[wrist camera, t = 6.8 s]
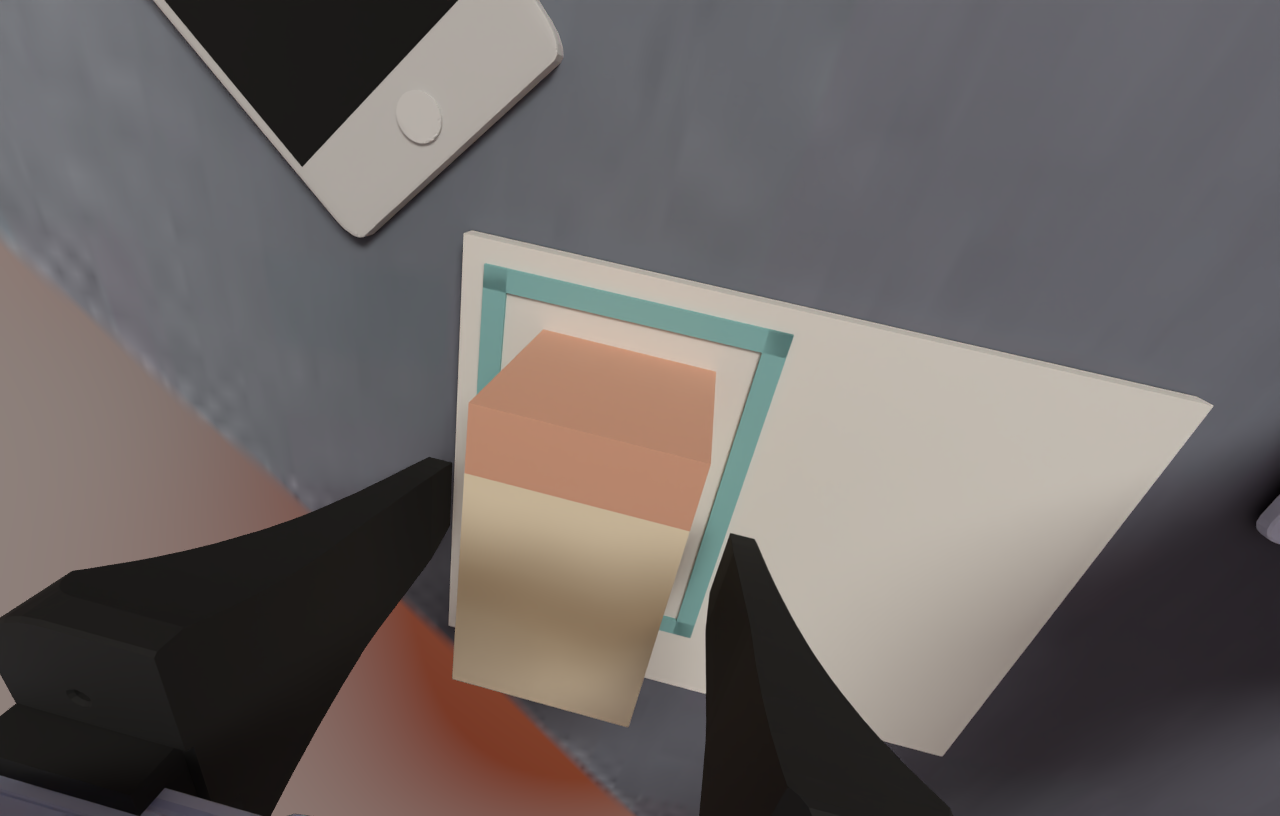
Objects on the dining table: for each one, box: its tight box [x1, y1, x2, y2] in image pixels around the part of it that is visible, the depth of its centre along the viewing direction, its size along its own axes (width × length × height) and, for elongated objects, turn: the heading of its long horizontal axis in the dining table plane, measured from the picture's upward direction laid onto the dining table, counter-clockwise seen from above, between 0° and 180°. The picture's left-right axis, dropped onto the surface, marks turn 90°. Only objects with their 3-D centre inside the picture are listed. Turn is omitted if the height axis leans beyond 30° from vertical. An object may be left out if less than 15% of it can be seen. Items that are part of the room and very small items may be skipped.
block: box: [452, 329, 716, 727], centre depth 14 cm, size 8×5×4 cm, turn 169°
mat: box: [449, 230, 1213, 757], centre depth 16 cm, size 18×14×1 cm
